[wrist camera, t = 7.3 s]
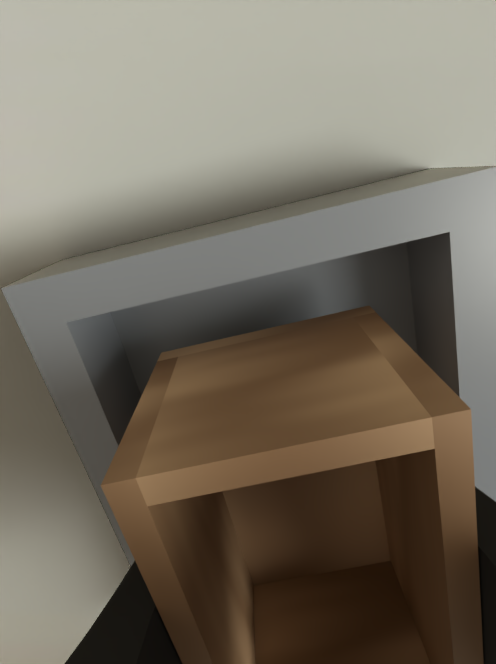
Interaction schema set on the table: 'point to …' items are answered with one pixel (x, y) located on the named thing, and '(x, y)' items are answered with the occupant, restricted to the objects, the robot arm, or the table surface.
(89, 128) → the table surface
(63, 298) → the big crate
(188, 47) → the table surface
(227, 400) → the small crate
